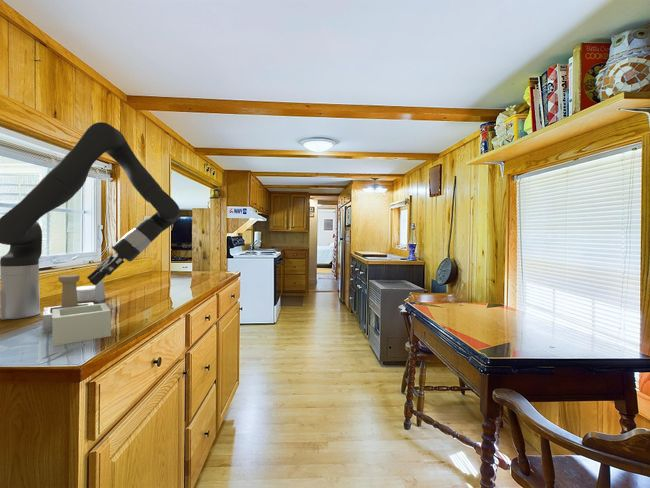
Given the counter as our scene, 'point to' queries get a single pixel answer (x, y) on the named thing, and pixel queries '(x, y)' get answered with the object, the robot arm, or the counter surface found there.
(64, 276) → the handle
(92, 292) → the ramekin
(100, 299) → the tapered grey rod
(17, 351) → the counter surface
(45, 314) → the bore block
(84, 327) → the cradle block
